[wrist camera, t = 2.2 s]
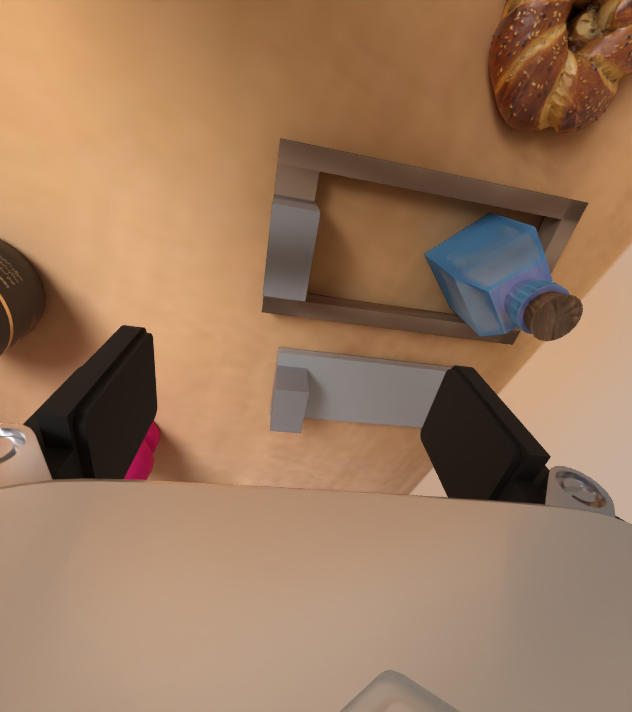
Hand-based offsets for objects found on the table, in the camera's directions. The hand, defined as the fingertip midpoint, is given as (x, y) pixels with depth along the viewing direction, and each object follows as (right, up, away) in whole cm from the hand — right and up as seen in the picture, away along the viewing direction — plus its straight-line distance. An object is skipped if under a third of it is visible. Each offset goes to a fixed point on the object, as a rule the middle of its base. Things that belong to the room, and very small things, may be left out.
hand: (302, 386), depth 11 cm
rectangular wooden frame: (+9, +10, +19) cm, 24 cm away
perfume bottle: (+14, +10, +21) cm, 27 cm away
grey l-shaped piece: (+6, -3, +27) cm, 28 cm away
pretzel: (+18, +23, +13) cm, 32 cm away
